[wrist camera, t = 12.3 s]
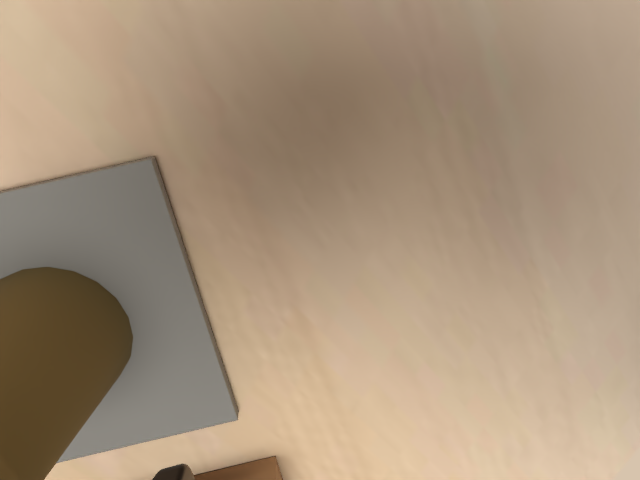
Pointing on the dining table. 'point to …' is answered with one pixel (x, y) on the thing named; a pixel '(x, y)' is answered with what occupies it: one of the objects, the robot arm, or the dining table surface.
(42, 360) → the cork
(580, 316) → the dining table surface
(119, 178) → the grey mat
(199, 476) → the walnut divider
